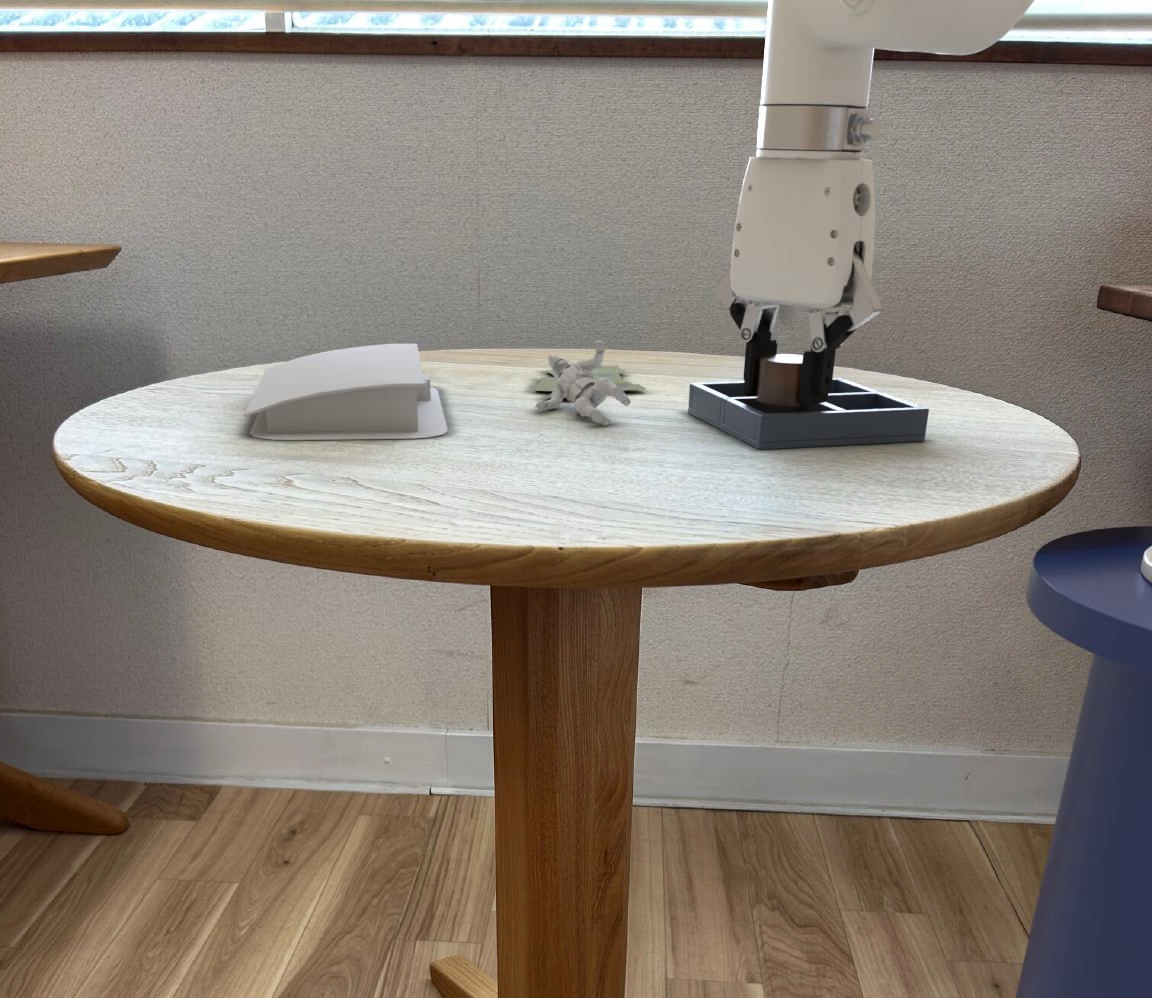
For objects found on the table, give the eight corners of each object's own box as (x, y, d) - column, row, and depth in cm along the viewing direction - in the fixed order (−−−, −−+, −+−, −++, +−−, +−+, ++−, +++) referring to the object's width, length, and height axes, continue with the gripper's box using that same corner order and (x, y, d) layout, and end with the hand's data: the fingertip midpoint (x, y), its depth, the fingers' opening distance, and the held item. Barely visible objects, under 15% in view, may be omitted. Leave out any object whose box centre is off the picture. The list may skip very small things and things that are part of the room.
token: (824, 405, 95) (829, 362, 93) (771, 407, 93) (775, 363, 92) (798, 394, 98) (802, 353, 97) (746, 396, 97) (750, 354, 96)
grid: (924, 441, 97) (929, 408, 96) (758, 449, 93) (761, 415, 92) (837, 406, 109) (840, 377, 108) (687, 412, 105) (689, 382, 104)
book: (436, 385, 114) (434, 341, 113) (449, 438, 94) (448, 385, 92) (268, 386, 112) (264, 341, 110) (245, 440, 92) (239, 387, 90)
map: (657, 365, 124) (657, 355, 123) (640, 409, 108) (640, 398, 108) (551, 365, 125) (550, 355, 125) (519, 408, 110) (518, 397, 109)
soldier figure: (563, 441, 99) (502, 370, 106) (594, 473, 102) (532, 403, 110) (635, 371, 97) (567, 305, 104) (663, 407, 101) (596, 340, 108)
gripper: (943, 139, 85) (905, 408, 93) (744, 135, 95) (726, 379, 103) (888, 137, 80) (853, 422, 88) (685, 133, 90) (671, 389, 98)
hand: (785, 396), depth 96 cm, fingers closed on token, 4 cm apart
